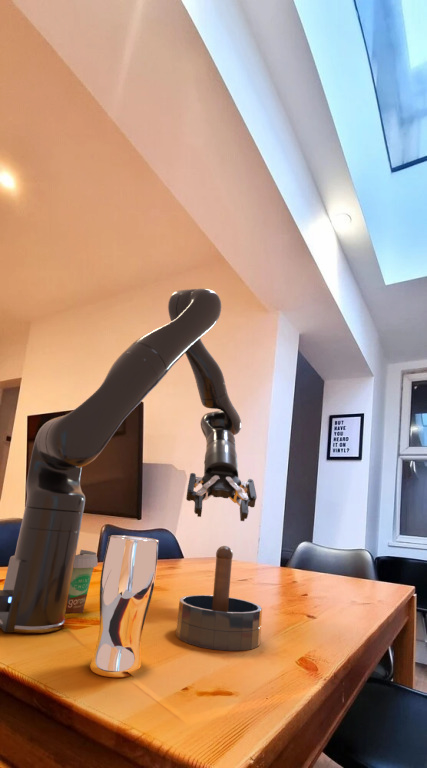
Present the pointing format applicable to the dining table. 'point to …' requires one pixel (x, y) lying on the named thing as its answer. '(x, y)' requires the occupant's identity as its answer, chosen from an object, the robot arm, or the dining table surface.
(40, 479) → the robot arm
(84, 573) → the food container
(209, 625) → the bowl
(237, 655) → the dining table surface
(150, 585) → the beer glass
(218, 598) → the rod
